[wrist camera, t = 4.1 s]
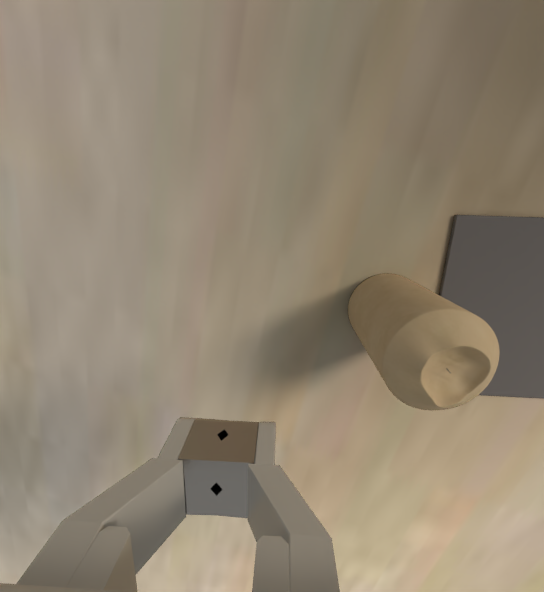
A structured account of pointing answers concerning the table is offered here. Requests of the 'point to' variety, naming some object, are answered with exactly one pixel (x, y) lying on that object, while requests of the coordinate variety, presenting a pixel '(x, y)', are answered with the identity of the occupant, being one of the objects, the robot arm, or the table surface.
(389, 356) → the candle
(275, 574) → the robot arm
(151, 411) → the table surface
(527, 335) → the mat
